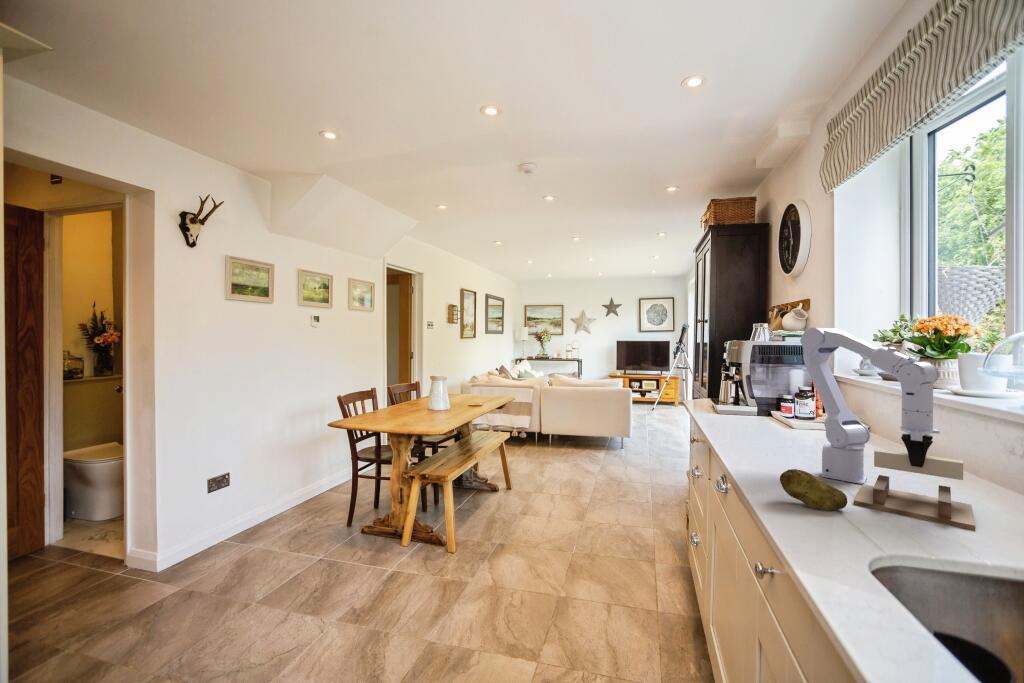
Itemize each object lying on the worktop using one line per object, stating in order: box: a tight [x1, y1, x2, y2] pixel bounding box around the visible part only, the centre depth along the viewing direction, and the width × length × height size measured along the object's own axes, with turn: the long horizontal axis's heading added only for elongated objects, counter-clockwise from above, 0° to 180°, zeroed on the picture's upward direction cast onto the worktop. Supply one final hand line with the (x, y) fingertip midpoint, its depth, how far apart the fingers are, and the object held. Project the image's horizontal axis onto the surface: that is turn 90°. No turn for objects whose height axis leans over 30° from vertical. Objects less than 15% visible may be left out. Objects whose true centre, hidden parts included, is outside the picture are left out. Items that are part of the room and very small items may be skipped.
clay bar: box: [873, 448, 964, 481], centre depth 107 cm, size 16×3×4 cm, turn 46°
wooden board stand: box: [853, 474, 976, 531], centre depth 102 cm, size 20×16×4 cm
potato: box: [779, 468, 848, 511], centre depth 103 cm, size 8×13×8 cm, turn 40°
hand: (916, 464), depth 107 cm, fingers closed on clay bar, 3 cm apart
